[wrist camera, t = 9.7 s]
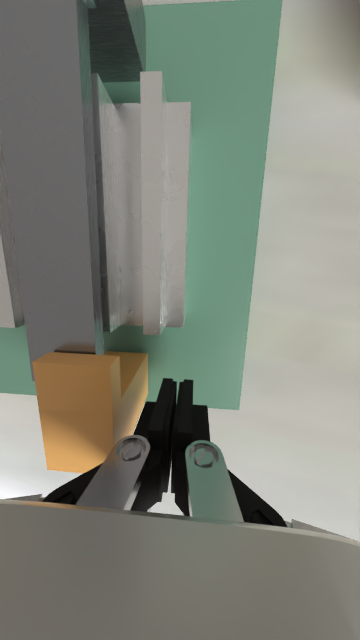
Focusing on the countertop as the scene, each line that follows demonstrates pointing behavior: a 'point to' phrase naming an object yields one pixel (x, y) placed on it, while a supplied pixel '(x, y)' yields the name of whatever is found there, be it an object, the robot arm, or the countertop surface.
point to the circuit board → (201, 193)
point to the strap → (52, 172)
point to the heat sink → (127, 185)
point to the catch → (88, 404)
